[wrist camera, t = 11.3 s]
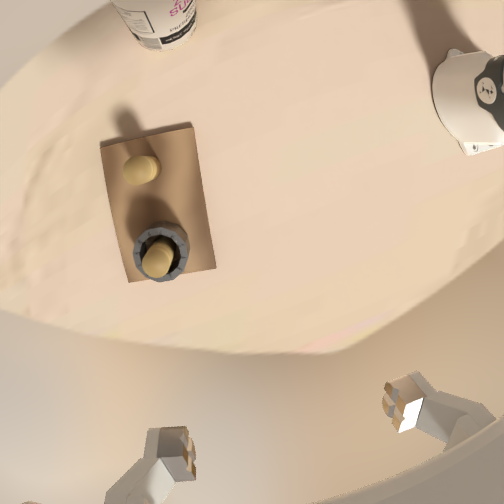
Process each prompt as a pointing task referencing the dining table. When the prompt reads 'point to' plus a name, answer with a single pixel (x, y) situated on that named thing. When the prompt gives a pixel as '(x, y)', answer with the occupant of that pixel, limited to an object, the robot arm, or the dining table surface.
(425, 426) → the robot arm
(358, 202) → the dining table surface
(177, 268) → the ring
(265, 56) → the dining table surface
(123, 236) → the post board
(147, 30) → the supplement can
